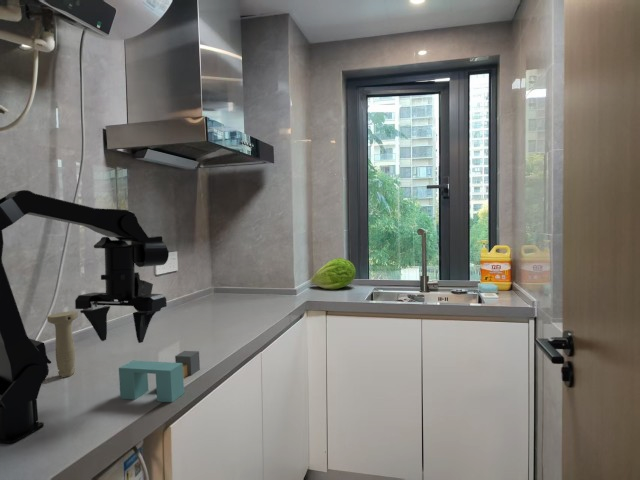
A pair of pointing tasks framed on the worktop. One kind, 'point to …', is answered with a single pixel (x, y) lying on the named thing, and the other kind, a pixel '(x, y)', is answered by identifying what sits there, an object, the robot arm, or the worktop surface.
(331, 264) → the lettuce
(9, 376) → the robot arm
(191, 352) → the plug
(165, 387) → the housing
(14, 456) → the worktop surface
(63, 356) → the handle
